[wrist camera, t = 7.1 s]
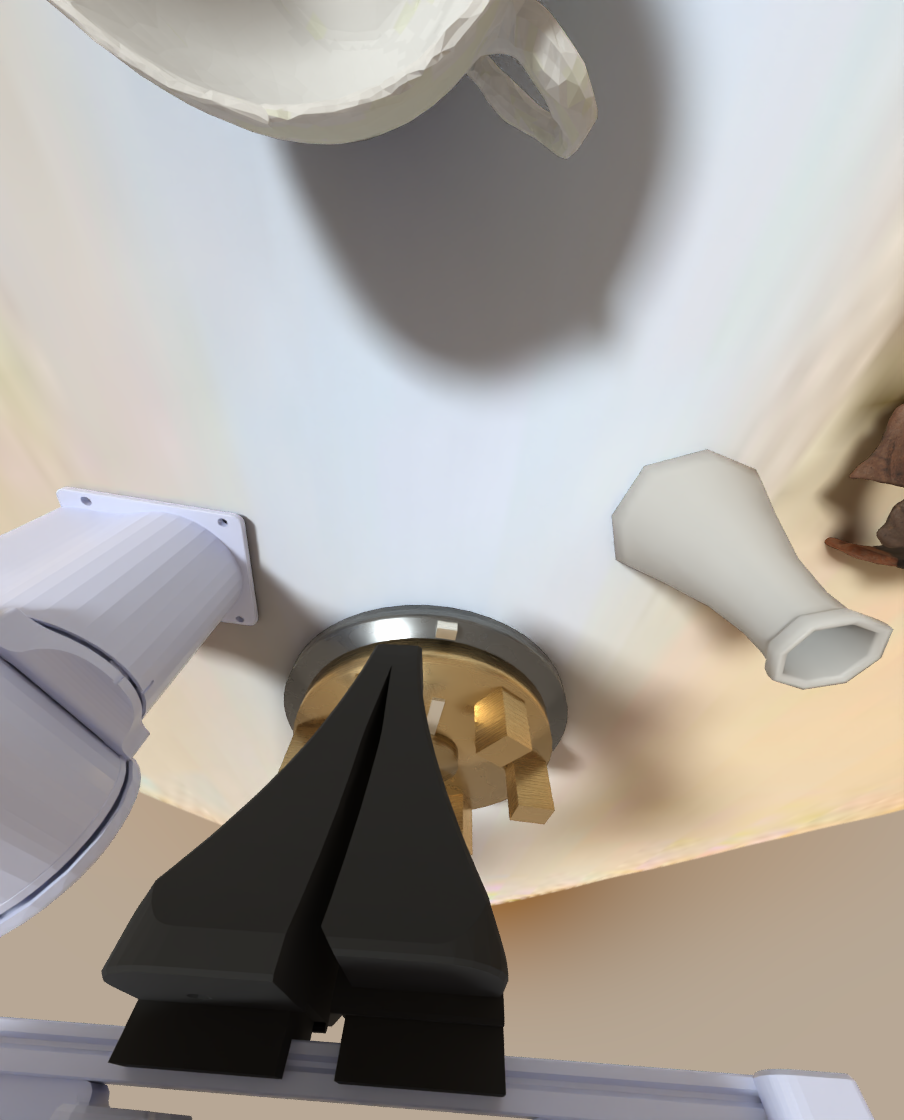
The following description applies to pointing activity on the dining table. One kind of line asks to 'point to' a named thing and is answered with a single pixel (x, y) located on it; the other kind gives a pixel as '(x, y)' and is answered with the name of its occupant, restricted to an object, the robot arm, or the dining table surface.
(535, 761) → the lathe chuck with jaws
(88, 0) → the teacup
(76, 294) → the dining table surface
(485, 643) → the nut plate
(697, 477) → the flask
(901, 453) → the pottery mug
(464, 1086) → the robot arm
